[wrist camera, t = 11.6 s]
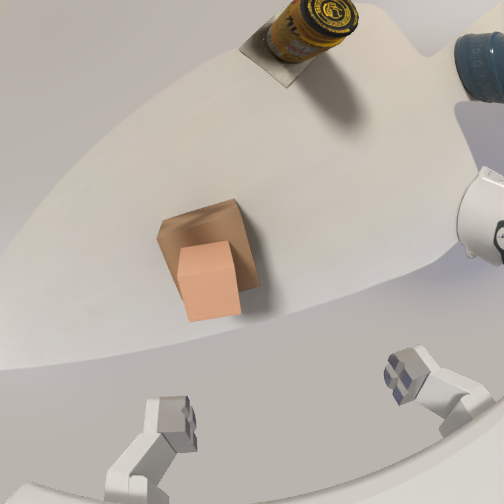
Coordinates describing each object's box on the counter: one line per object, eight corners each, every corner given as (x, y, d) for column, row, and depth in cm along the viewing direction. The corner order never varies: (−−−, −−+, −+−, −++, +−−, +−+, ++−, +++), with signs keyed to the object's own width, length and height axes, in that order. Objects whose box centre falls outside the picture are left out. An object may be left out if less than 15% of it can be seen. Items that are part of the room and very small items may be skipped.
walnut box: (234, 198, 34) (240, 212, 29) (251, 262, 38) (260, 285, 33) (163, 219, 34) (156, 238, 28) (186, 280, 38) (185, 307, 32)
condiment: (327, 45, 27) (380, 19, 17) (286, 87, 29) (328, 72, 18) (283, 7, 24) (320, -35, 14) (237, 49, 26) (257, 13, 16)
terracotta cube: (228, 240, 30) (234, 267, 24) (234, 281, 32) (241, 313, 27) (180, 248, 29) (176, 276, 24) (190, 288, 31) (189, 322, 26)
